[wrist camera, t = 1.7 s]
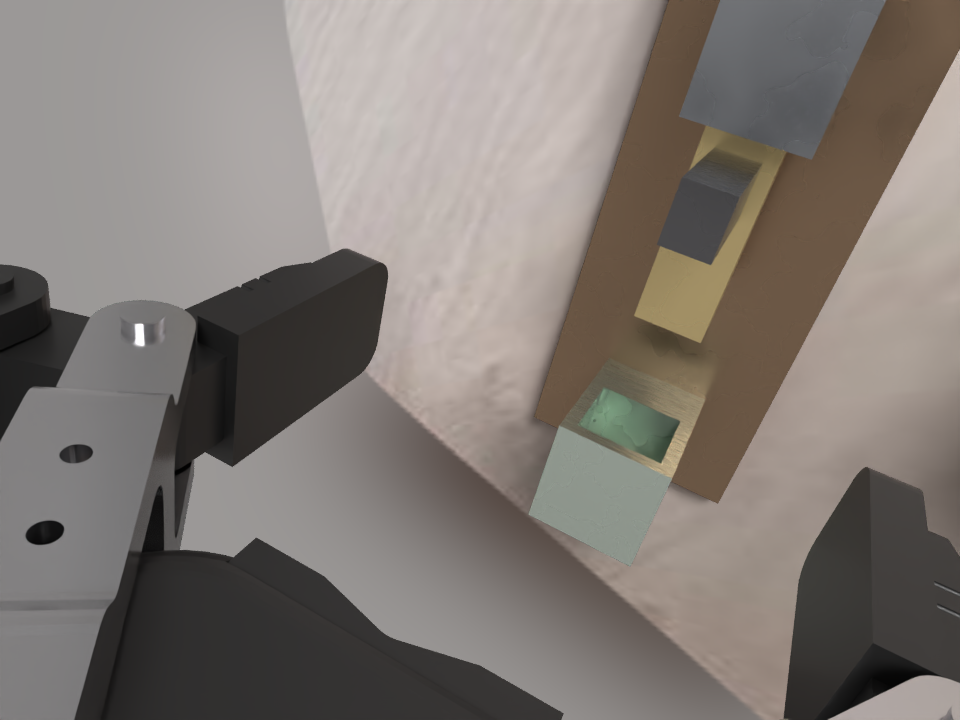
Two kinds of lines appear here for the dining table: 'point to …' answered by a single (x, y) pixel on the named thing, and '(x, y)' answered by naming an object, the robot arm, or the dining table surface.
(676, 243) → the rod
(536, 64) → the dining table surface
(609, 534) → the multicoloured piece
